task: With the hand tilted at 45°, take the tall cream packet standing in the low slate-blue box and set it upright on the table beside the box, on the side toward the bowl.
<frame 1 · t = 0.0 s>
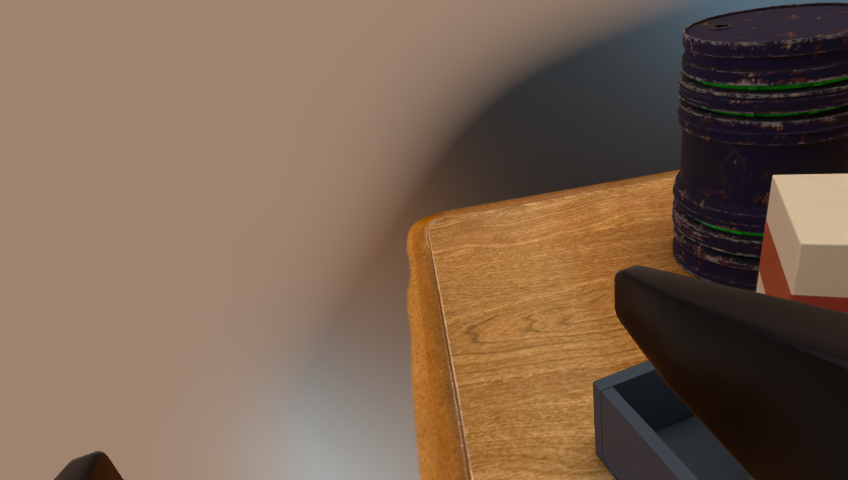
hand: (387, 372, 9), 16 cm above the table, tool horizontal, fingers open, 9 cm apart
packet: (800, 459, 23), resting on box
dark blue cylinder: (749, 254, 37), on the table
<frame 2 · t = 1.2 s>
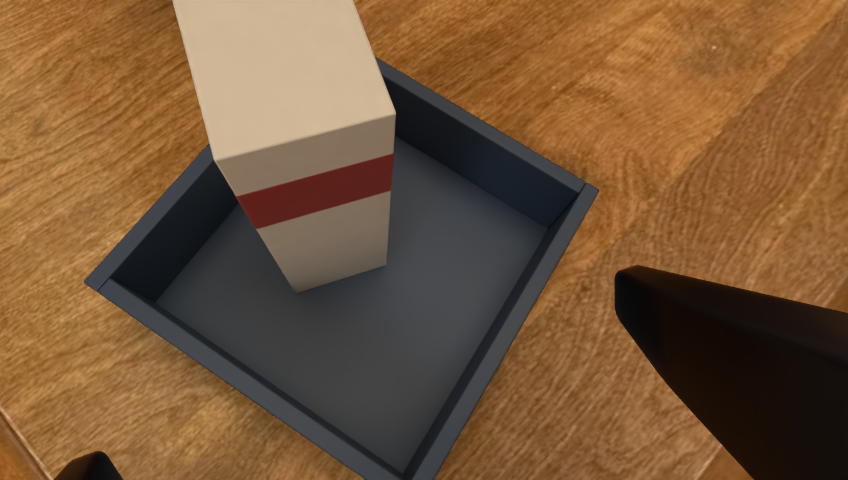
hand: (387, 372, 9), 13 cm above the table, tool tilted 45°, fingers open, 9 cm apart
packet: (325, 226, 24), resting on box
box: (362, 267, 24), on the table
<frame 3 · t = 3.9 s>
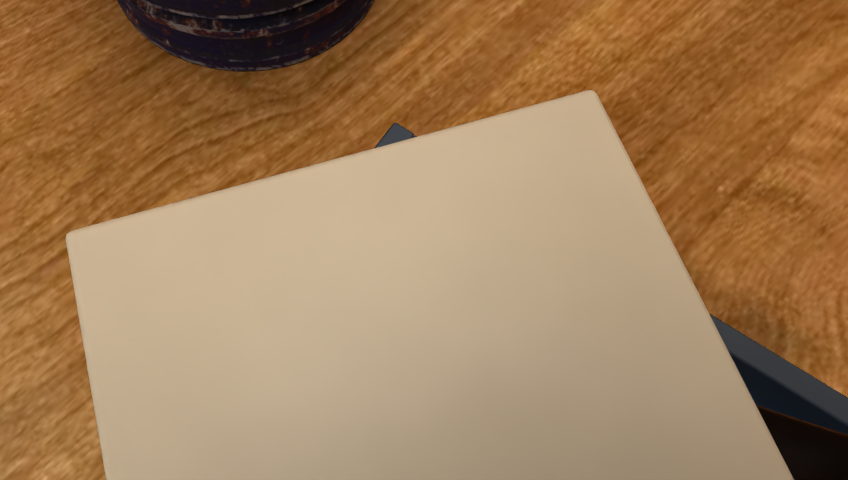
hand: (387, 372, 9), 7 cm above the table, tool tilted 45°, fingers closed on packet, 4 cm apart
packet: (397, 442, 15), point 1 cm above the table, touching box, gripper
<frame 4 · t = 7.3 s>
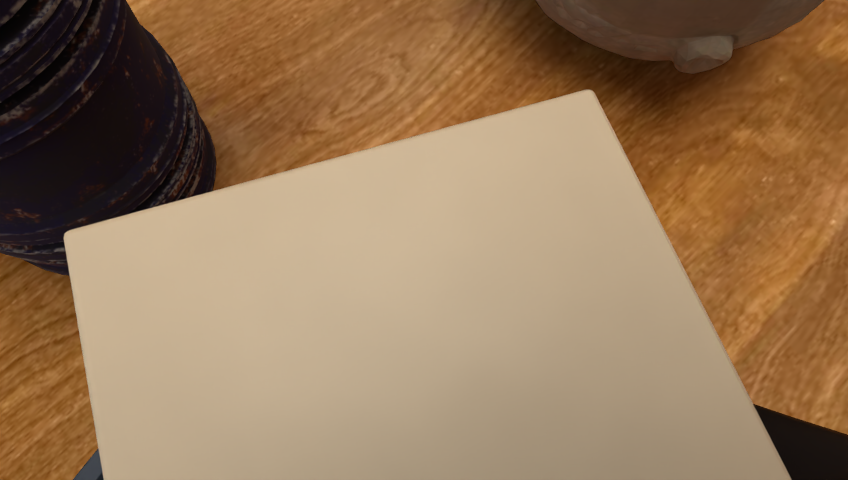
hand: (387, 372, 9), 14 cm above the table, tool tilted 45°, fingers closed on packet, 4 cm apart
packet: (397, 442, 15), point 8 cm above the table, touching gripper
dark blue cylinder: (107, 174, 24), on the table
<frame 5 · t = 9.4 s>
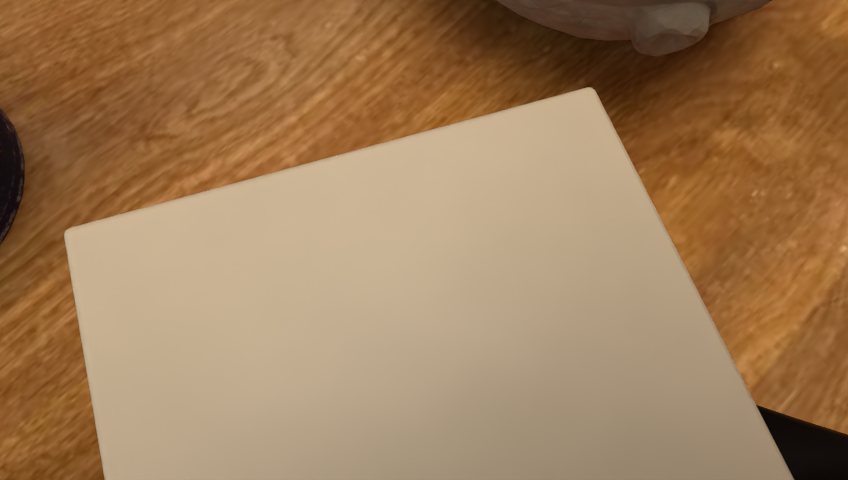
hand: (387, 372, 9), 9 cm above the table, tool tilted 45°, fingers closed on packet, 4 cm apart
packet: (397, 441, 15), point 3 cm above the table, touching gripper
when the fingers open (6 cm above the table, at t = 10.6 s): packet stays where it is, on the table.
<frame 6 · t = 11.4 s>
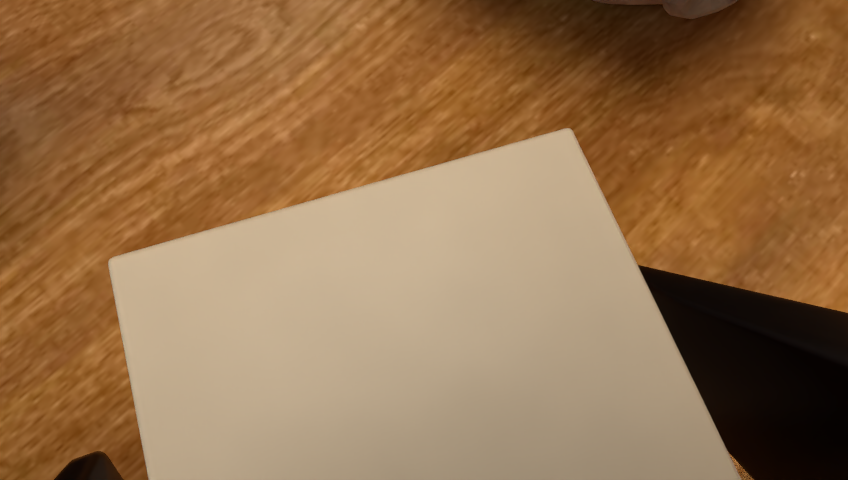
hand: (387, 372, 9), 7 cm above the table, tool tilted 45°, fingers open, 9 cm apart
packet: (397, 441, 15), on the table
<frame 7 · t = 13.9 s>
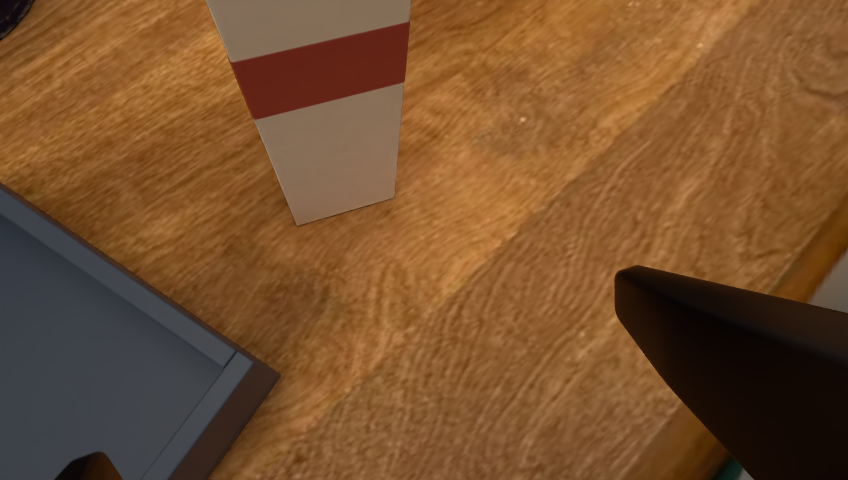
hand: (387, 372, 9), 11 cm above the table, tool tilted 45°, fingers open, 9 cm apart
packet: (328, 157, 22), on the table
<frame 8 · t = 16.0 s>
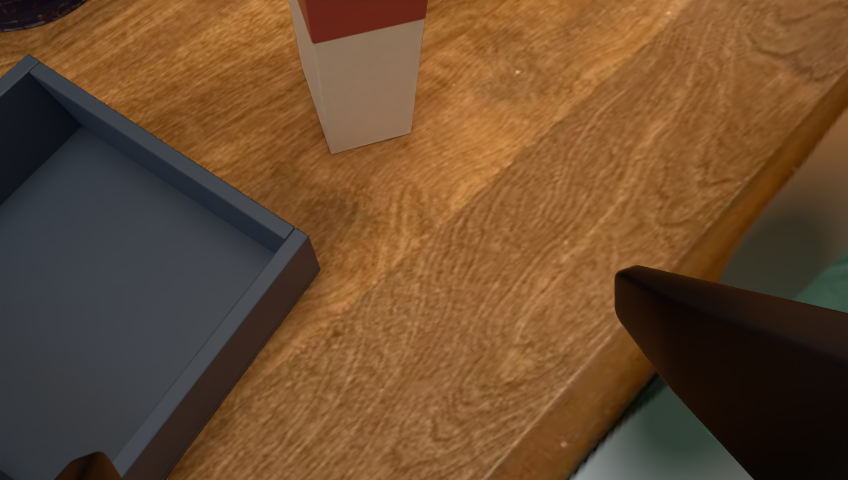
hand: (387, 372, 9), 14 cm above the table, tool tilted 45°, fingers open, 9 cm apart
packet: (356, 100, 26), on the table
box: (93, 312, 22), on the table
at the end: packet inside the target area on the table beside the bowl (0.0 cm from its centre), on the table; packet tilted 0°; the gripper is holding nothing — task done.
